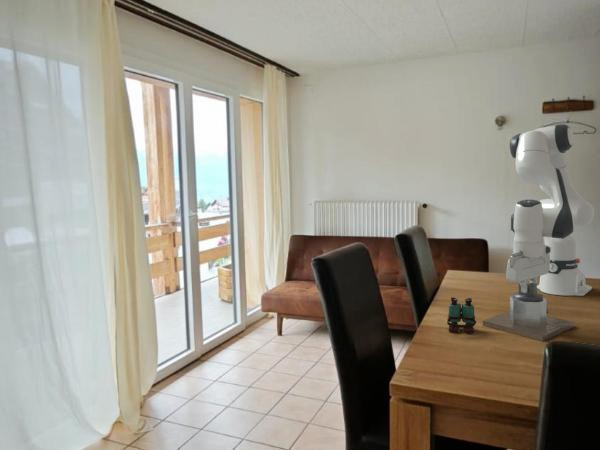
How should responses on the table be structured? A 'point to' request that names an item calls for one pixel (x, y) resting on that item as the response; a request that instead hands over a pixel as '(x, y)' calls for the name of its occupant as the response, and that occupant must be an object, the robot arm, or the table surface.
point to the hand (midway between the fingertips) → (528, 291)
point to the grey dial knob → (528, 294)
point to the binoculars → (456, 315)
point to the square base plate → (529, 320)
